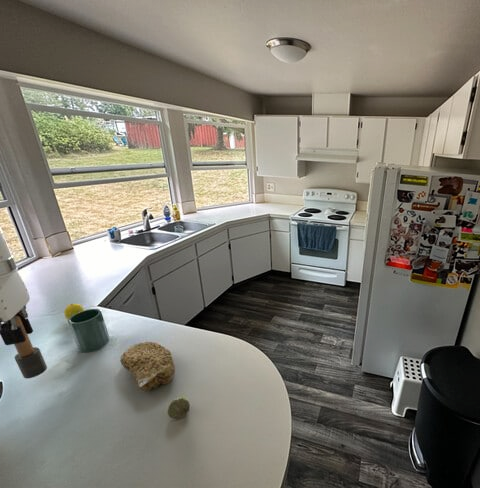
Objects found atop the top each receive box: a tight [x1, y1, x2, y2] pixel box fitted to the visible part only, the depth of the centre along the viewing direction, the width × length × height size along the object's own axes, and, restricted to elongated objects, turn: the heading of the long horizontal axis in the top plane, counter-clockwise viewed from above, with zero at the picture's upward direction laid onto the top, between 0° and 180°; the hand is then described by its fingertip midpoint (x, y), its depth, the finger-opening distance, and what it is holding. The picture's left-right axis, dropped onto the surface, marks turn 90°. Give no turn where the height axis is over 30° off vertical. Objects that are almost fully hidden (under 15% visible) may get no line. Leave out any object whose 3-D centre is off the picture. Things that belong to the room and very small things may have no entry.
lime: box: [167, 396, 191, 421], centre depth 66 cm, size 4×5×5 cm
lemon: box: [63, 303, 85, 320], centre depth 100 cm, size 6×6×8 cm
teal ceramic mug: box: [67, 308, 111, 353], centre depth 88 cm, size 8×8×12 cm
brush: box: [3, 316, 48, 379], centre depth 60 cm, size 4×4×16 cm
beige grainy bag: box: [120, 341, 176, 392], centre depth 79 cm, size 13×8×20 cm
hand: (19, 337), depth 59 cm, fingers closed on brush, 2 cm apart
